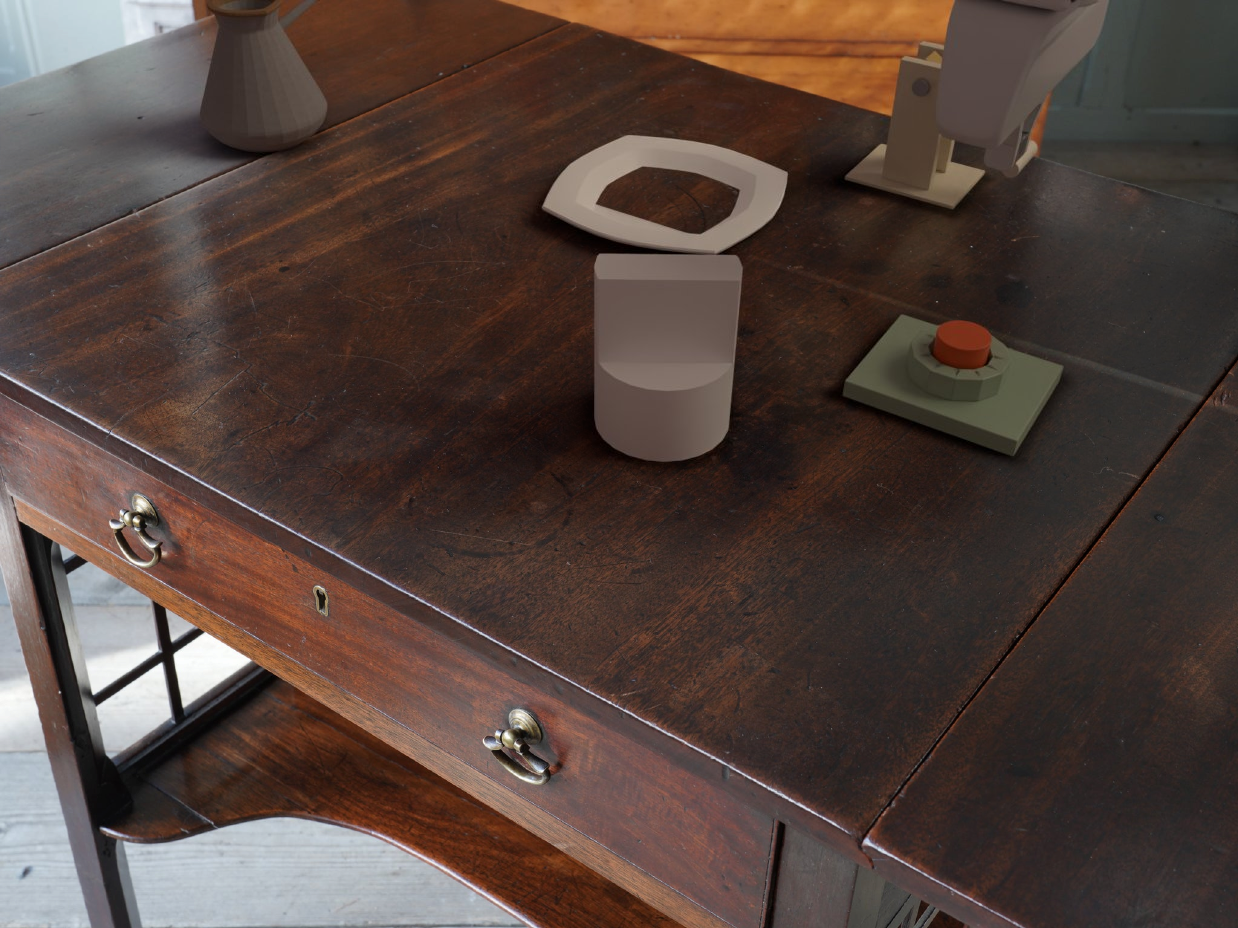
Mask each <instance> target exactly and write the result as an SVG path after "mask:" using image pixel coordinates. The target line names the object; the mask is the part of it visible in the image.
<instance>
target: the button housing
mask: <svg viewBox="0 0 1238 928" xmlns="http://www.w3.org/2000/svg"><path fill="white" fill-rule="evenodd" d="M940 325H941V324H933V323H931V322H927V321H924V320H921V319H917V318H916V317H915V318H914V317H911V316H909V315H905V314H903V313H901V314H900V315H899V317H898V318H897V319H896V320H895V321H894V322H893V323H892V324H891V326H890V327H889V328H888V329H887V331H886V332H885V333H884V334H883V336H881V338H879V340H878V341H877V342H876V344H875V345H874V346H873V347H871V349H870V351H869V352H868V353H867V354H866V355H865V356H864V358H863V359H862V360H861V361H860V362H859V364H858V365H857V366H856V367H855V369H853V371H851V373H850V374H849V376H848V377H847V378H846V379H845V380H844V385H843V390H842V397H845V398H847V399H850V400H853V401H856V402H859V403H862V404H865V405H867V406H870V407H873V408H875V409H879V410H881V411H884V412H887V413H889V414H893V415H895V416H898V417H900V418H904V419H906V420H909V421H912V422H915V423H918V424H920V425H923V426H927V427H929V428H932V429H934V430H937V431H940V432H942V433H945V434H949V435H951V436H954V437H956V438H959V439H962V440H966V441H968V442H971V443H974V444H976V445H980V446H982V447H985V448H988V449H991V450H993V451H995V452H998V453H1002V454H1005V455H1007V456H1010V457H1014V456H1015V455H1016V453H1017V451H1018V450H1019V448H1020V446H1021V445H1022V443H1023V442H1024V440H1025V438H1026V436H1028V433H1029V431H1030V430H1031V428H1032V427H1033V425H1034V423H1035V422H1036V420H1037V418H1038V417H1039V416H1040V414H1041V412H1042V411H1043V409H1044V407H1045V406H1046V404H1047V402H1048V400H1049V399H1050V397H1051V396H1052V394H1053V393H1054V390H1055V389H1056V387H1057V386H1058V384H1059V383H1060V380H1061V377H1062V374H1063V370H1064V366H1063V365H1062V364H1058V363H1057V362H1056V363H1055V362H1053V361H1049V360H1047V359H1043V358H1040V357H1037V356H1033V355H1030V354H1027V353H1024V352H1021V351H1019V350H1015V349H1012V348H1009V347H1007V346H1006V344H1004V343H1003V342H1002V341H1000V340H999V339H997V338H996V337H995V336H993V335H992V333H990V335H991V338H992V341H991V345H990V349H989V353H988V357H987V361H986V363H985V365H984V366H983V367H981V368H978V369H975V370H971V369H956V368H953V367H950V366H947V365H944V364H941V363H940V362H939V361H938V360H936V359H935V358H934V357H933V353H932V352H933V347H934V342H935V337H936V332H937V329H938V327H939V326H940Z"/></svg>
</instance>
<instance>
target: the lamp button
mask: <svg viewBox="0 0 1238 928" xmlns="http://www.w3.org/2000/svg"><path fill="white" fill-rule="evenodd" d="M939 325H940V326H939V327H938V329H937V332H936V337H935V342H934V347H933V352H932V353H933V357H934V358H935V359H936V360H938V361H939V362H940V363H941V364H944V365H947V366H950V367H953V368H956V369H971V370H975V369H978V368H981V367H983V366H984V365H985V363H986V361H987V357H988V353H989V349H990V345H991V341H992V338H991V335H992V334H991V333H990V331H988V329H986V327H983V326H982V325H980V324H978V323H975V322H972V321H968V320H957V319H955V320H949V321H946V322H944V323H941V324H939ZM990 334H991V335H990Z"/></svg>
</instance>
